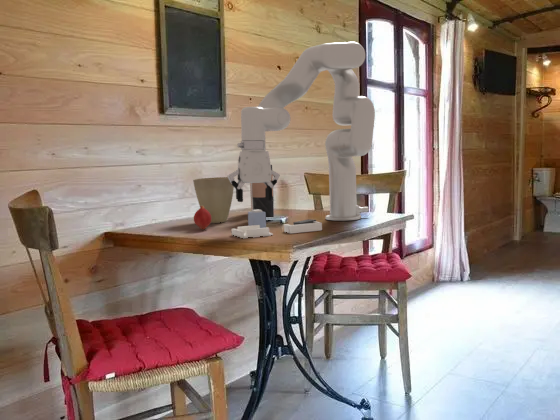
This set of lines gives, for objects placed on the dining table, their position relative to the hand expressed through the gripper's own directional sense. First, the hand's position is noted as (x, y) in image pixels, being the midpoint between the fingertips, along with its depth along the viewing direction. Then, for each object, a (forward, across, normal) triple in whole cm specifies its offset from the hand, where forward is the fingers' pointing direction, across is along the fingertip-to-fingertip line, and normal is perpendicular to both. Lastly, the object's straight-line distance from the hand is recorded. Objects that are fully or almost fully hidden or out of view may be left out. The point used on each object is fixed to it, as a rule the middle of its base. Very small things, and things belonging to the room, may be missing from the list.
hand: (254, 201), depth 184 cm
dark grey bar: (+9, +14, -8) cm, 19 cm away
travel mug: (+9, +13, +23) cm, 28 cm away
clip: (+9, +12, -10) cm, 18 cm away
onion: (+10, -13, +13) cm, 21 cm away
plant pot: (+10, -3, +30) cm, 32 cm away
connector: (+10, +1, 0) cm, 10 cm away
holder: (+10, -4, -9) cm, 14 cm away
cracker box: (+9, +20, +43) cm, 48 cm away
